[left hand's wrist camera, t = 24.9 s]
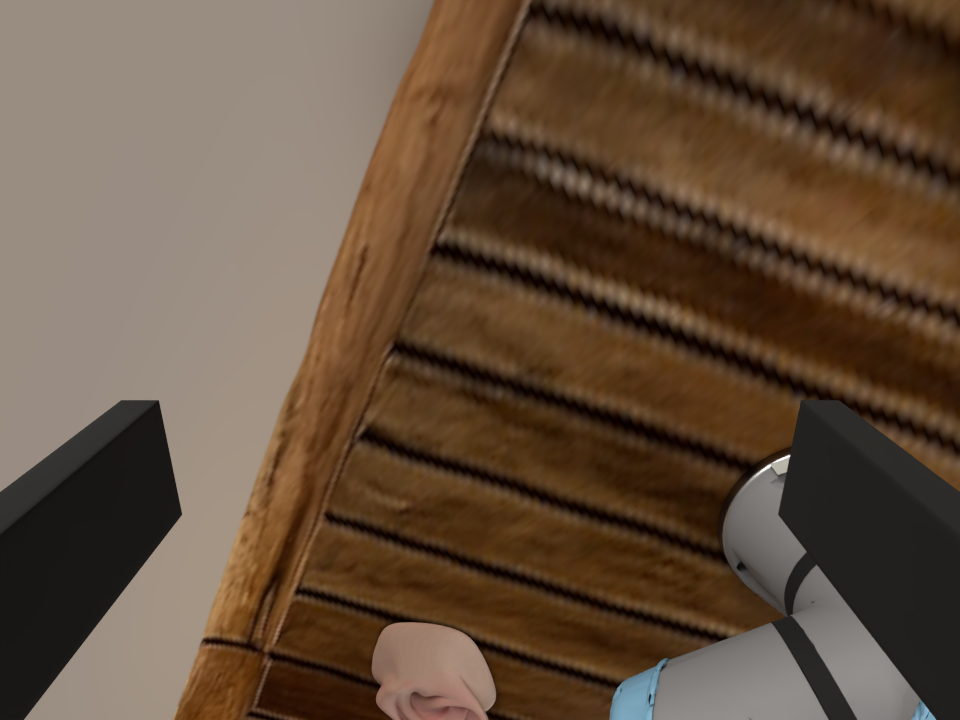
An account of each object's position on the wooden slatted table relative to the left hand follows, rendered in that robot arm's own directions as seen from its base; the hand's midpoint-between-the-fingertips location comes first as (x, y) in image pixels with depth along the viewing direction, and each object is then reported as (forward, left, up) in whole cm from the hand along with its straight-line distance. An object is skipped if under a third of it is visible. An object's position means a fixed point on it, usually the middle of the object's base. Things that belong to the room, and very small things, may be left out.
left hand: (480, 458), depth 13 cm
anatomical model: (-9, +42, -34) cm, 55 cm away
